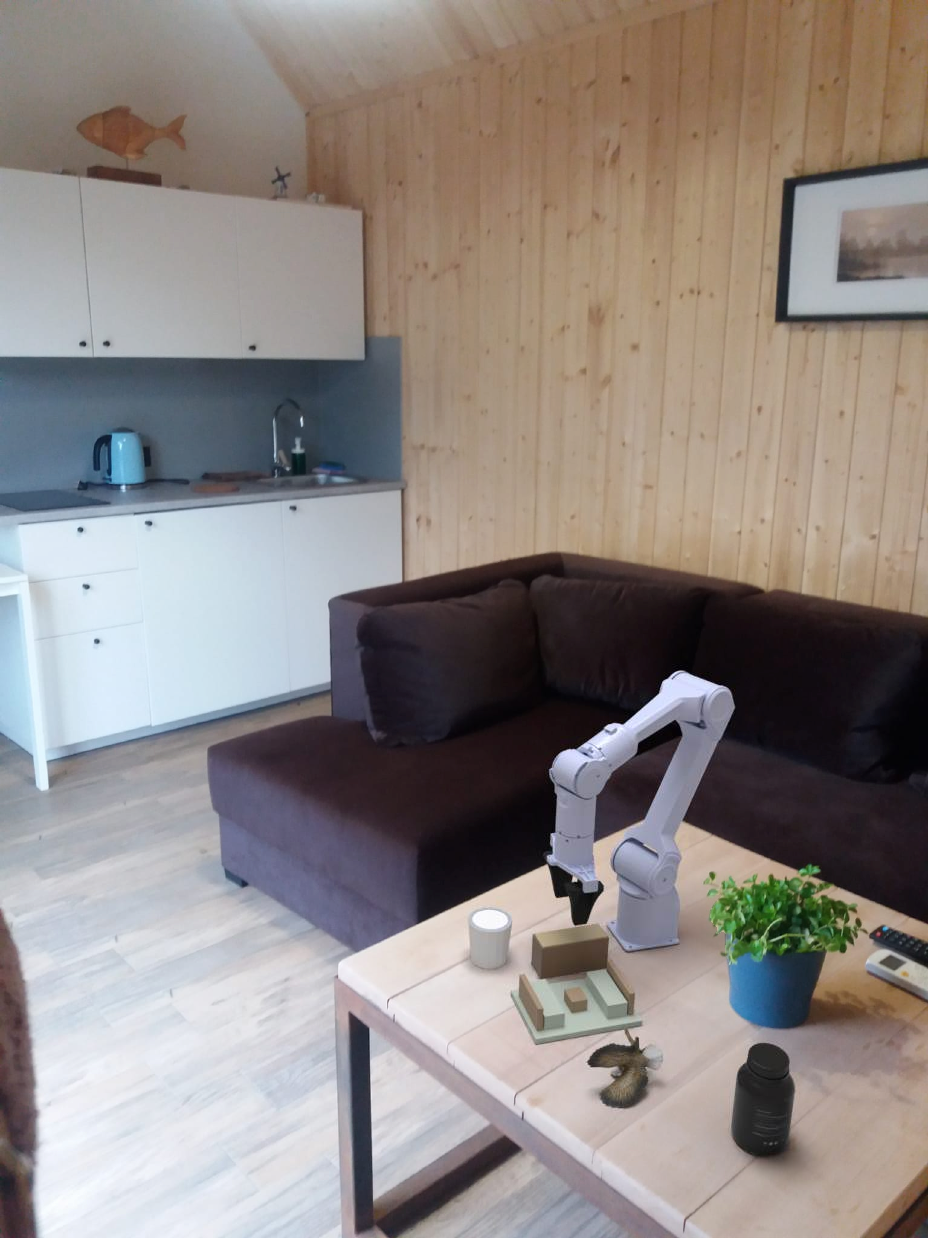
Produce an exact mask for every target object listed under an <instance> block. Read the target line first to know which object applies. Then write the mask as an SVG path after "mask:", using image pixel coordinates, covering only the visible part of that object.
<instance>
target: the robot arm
mask: <svg viewBox="0 0 928 1238" xmlns="http://www.w3.org/2000/svg"><path fill="white" fill-rule="evenodd" d="M658 692H659V693H658V694H657V695H656V696H655V697H653V699H651V700H650V701H649V702H648V703H647V704H645V705H644V706H643V707H642V708H641V709H640V710H639V711H637V712H636V713H635V714H634V715H633V716H632V717H631V718H630V719H628V720H627V721H626V722H625V723H623V724H621V723H618V722H617V723H616V722H613V723H611V724H607V725H606V726H604V727H603V729H602V730H601V731H600V732H598V733H597V734H596V735H594V736H593V737H592V738H589V740H588V741H586V742H585V743H583V744H582V745H580V746H579V747H578V748H576V749H574V748H572V749H571V748H569V749H566V750H563V751H561V752H560V753H559V754H558V755H556V757H555V758H554V760H553V762H552V765H551V768H549V770H548V771H549V773H548V774H549V778H550V780H551V781H552V782H553V784H554V793H555V794H556V810H555V811H556V813H555V815H556V816H555V832H553V833H550V842H549V845H550V846H551V848H552V849H551V850H547V851H544V852H543V855H542V856H543V858H544V860H545V862H546V864H547V868H548V869H549V873H550V877H551V878H550V879H551V883H552V890H553V894H554V897H555V898H556V899H561V898H568V900H569V905H570V916H571V920H572V921H571V922H572V925H573V926H575V927H578V926H585V925H588V922H589V920H590V919H589V918H590V916H591V914H592V911H593V907H594V906H595V903H596V902H597V900H598V898H599V897H600V896H601V895H602V894H603V892H604V889H605V885H604V884H603V883H602V881H601V880H599V879H598V877H597V875H596V864H595V857H594V855H595V854H594V842H595V841H594V839H595V825H596V824H595V823H596V821H595V820H596V805H597V795H599V794H600V793H601V792H602V791H603V790H604V787H605V785H606V783H607V781H608V780H609V779H611V776H612V773H613V772H614V771H615V770H617V769H618V768H619V767H621V766H622V765H624V764H625V763H626V762H627V761H629V760H630V759H632V758H633V757H634V756H635V755H636V754H637V752H638V745H639V743H640V742H642V741H643V740H645V739H647V738H648V737H650V736H651V735H653V734H655V733H656V732H658V731H659V730H661V729H662V728H664V727H665V726H667V725H669V724H670V723H672V722H673V721H676V722H677V723H678V725H679V727H680V731H681V733H682V738H681V740H680V742H679V743H678V746H677V749H676V750H675V752H674V754H673V756H672V759H671V762H670V764H669V765H668V768H667V769H666V772H665V773H664V776H663V779H662V781H661V783H660V785H659V788H658V790H657V792H656V794H655V797H654V799H653V800H652V803H651V804H650V807H649V809H648V812H647V813H646V816H645V818H644V820H643V822H642V824H639V825H635V826H633V827H628V828H627V829H626V830H625V833H624V835H623V837H622V838H621V840H620V841H619V842H618V843H617V844H616V845H615V846H614V848H613V850H612V852H611V856H610V863H609V864H610V868H611V870H612V871H613V872H614V874H616V881H617V882H618V884H619V886H618V898H617V914H616V920H612V921H607V922H606V927H608V929H609V931H610V932H611V933H612V935H613V936H614V937H615V938H616V941H618V942H619V944H620V946H621V947H622V948H623V950H624V951H625V952H632V951H639V950H646V949H652V948H658V947H659V948H660V947H665V946H671V945H672V946H673V945H679V943H680V939H679V938H678V933H679V924H680V923H679V921H680V909H681V902H680V896H679V893H678V890H677V888H676V886H675V884H676V882H677V879H678V872H679V871H678V869H679V866H680V864H681V862H682V861H681V860H682V859H683V856H682V853H681V851H680V849H679V848H678V845H677V843H676V840H675V838H676V834H677V832H678V831H679V828H680V827H681V825H682V822H683V819H684V817H685V816H686V813H687V811H688V808H689V806H690V804H691V802H692V799H693V797H694V796H695V793H696V791H697V788H698V786H699V784H700V782H701V780H702V777H703V775H704V773H705V772H706V769H707V768H708V767H707V766H708V764H709V762H710V760H711V758H712V756H713V754H714V752H715V749H716V747H717V745H718V742H719V741H720V740H721V739H722V737H723V735H724V732H725V730H726V728H727V726H728V723H729V722H730V720H731V717H732V715H733V713H734V710H735V709H736V706H735V703H734V699H733V694H732V691H731V690H730V689H729V688H728V687H726V686H724V685H719V684H716V683H714V682H711V681H708V680H706V679H704V678H700V677H698V676H696V675H695V676H694V675H692V674H691V673H689V672H687V671H685V670H678V671H675V672H673V673H672V674H671V675H670V676H669V677H668V678H667V679H664V680H663V681H662V683H661V686H660V689H659V691H658ZM645 845H646V846H645ZM652 849H653V850H652ZM574 878H576V881H573V879H574Z"/></svg>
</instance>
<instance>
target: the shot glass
mask: <svg viewBox="0 0 928 1238" xmlns="http://www.w3.org/2000/svg"><path fill="white" fill-rule="evenodd" d="M467 921H468V936H469V948H470V949H469V950H470V959H471V962H472V963H473V964H474V965H475V966H477V967H479V968H480V969H485V970H495V969H498V968H501V967H503V966H504V965H505V964H506V963H507V959H508V954H509V953H508V952H509V948H510V947H509V946H510V940H511V933H512V932H511V931H512V925H513V918H512V916H511V914H509V913H508V912H507V911H506V910H503V909H500V908H497V907H481V908H478V909H475V910H474V911H472V912H471V913H469V916H468V917H467Z"/></svg>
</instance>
